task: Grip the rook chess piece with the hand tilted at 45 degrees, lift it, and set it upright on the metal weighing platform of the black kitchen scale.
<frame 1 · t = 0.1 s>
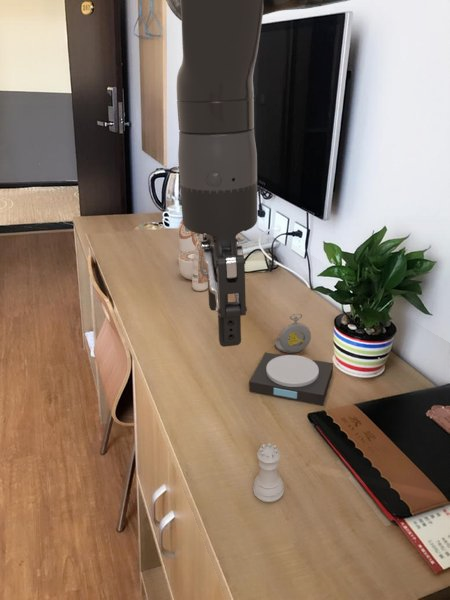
hand: (223, 325, 56), 30 cm above the table, tool pointing down, fingers open, 8 cm apart
scale: (291, 382, 98), on the table
pocket watch: (290, 350, 109), on the table
rook chess piece: (268, 492, 73), on the table
cosmetic set: (195, 277, 148), on the table
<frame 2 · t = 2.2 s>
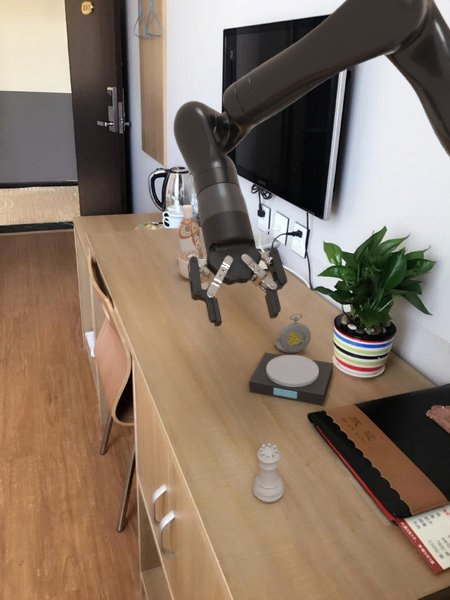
hand: (247, 320, 73), 23 cm above the table, tool tilted 45°, fingers open, 8 cm apart
nothing on the table moved.
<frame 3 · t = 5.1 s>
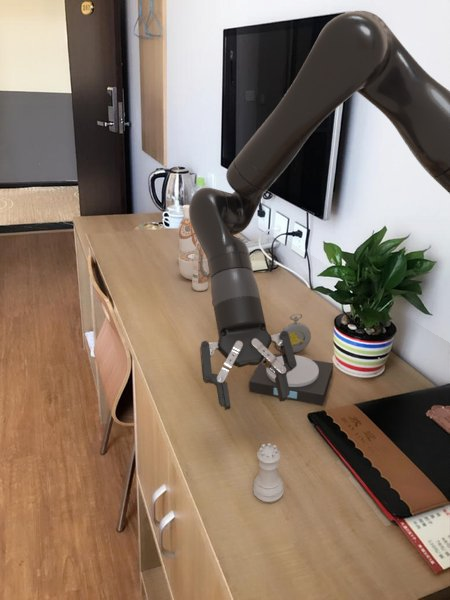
hand: (256, 404, 74), 11 cm above the table, tool tilted 45°, fingers open, 8 cm apart
nothing on the table moved.
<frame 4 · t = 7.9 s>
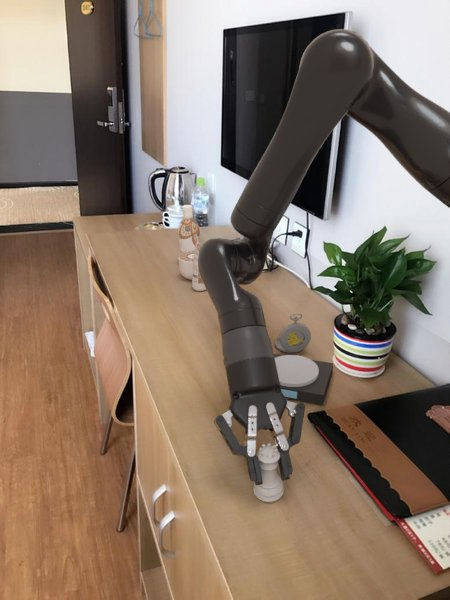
hand: (272, 481, 70), 4 cm above the table, tool tilted 45°, fingers closed on rook chess piece, 3 cm apart
rook chess piece: (268, 492, 73), on the table, touching gripper
everything else where it was.
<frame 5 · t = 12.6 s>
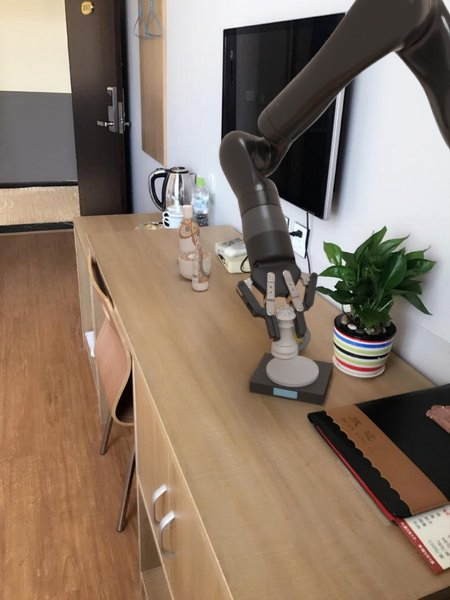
hand: (289, 338, 78), 18 cm above the table, tool tilted 45°, fingers closed on rook chess piece, 3 cm apart
rook chess piece: (284, 354, 81), point 14 cm above the table, touching gripper
everything else where it was.
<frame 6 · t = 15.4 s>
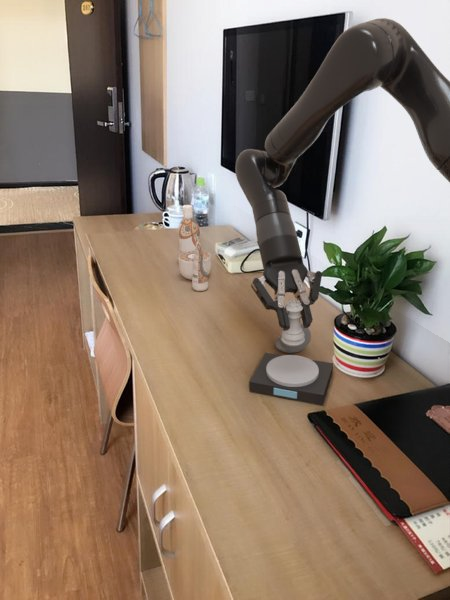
hand: (297, 327, 90), 13 cm above the table, tool tilted 45°, fingers closed on rook chess piece, 3 cm apart
rook chess piece: (292, 342, 94), point 9 cm above the table, touching gripper
everything else where it was.
when the fingers open (7 cm above the table, at t = 17.4 s): rook chess piece stays where it is, resting on scale.
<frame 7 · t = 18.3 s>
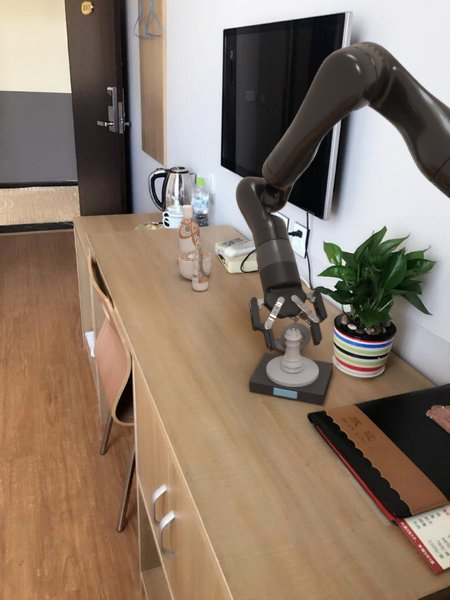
hand: (295, 347, 93), 9 cm above the table, tool tilted 45°, fingers open, 8 cm apart
rook chess piece: (292, 368, 97), point 3 cm above the table, touching scale
everything else where it was.
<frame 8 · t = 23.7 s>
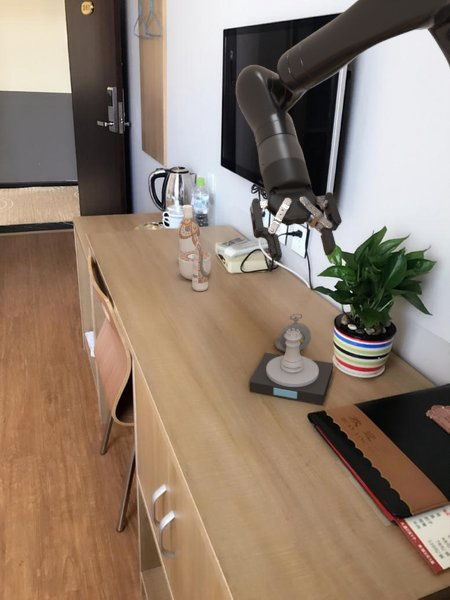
hand: (304, 255, 79), 29 cm above the table, tool tilted 45°, fingers open, 8 cm apart
nothing on the table moved.
at the end: rook chess piece inside the target area on the scale (0.2 cm from its centre), point 3.0 cm above the scale's base; rook chess piece tilted 0°; the gripper is holding nothing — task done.
